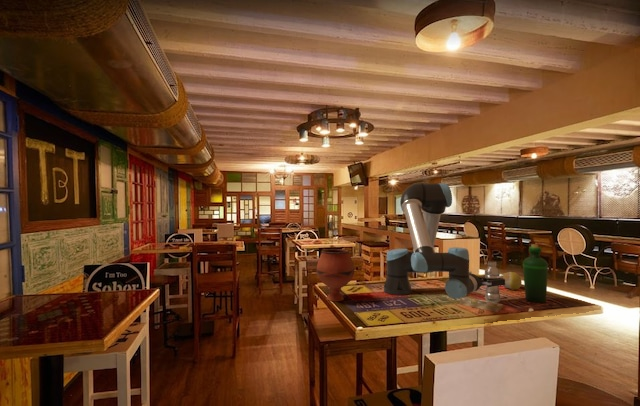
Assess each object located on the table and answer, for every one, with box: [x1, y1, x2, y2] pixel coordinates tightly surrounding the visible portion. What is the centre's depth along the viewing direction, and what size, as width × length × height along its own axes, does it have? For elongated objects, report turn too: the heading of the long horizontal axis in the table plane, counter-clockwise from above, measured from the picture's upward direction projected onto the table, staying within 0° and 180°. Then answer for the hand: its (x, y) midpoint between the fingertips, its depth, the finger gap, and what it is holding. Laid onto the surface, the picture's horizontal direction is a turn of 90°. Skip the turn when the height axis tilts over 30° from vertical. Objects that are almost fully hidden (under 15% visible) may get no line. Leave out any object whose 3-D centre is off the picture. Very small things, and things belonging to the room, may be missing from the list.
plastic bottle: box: [484, 260, 501, 304], centre depth 154 cm, size 6×7×20 cm
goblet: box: [316, 248, 355, 302], centre depth 160 cm, size 19×19×25 cm
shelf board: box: [459, 297, 504, 313], centre depth 148 cm, size 16×9×4 cm, turn 44°
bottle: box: [522, 243, 549, 304], centre depth 157 cm, size 11×11×28 cm
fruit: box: [502, 271, 523, 291], centre depth 179 cm, size 10×11×10 cm
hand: (485, 276), depth 147 cm, fingers open, 13 cm apart
